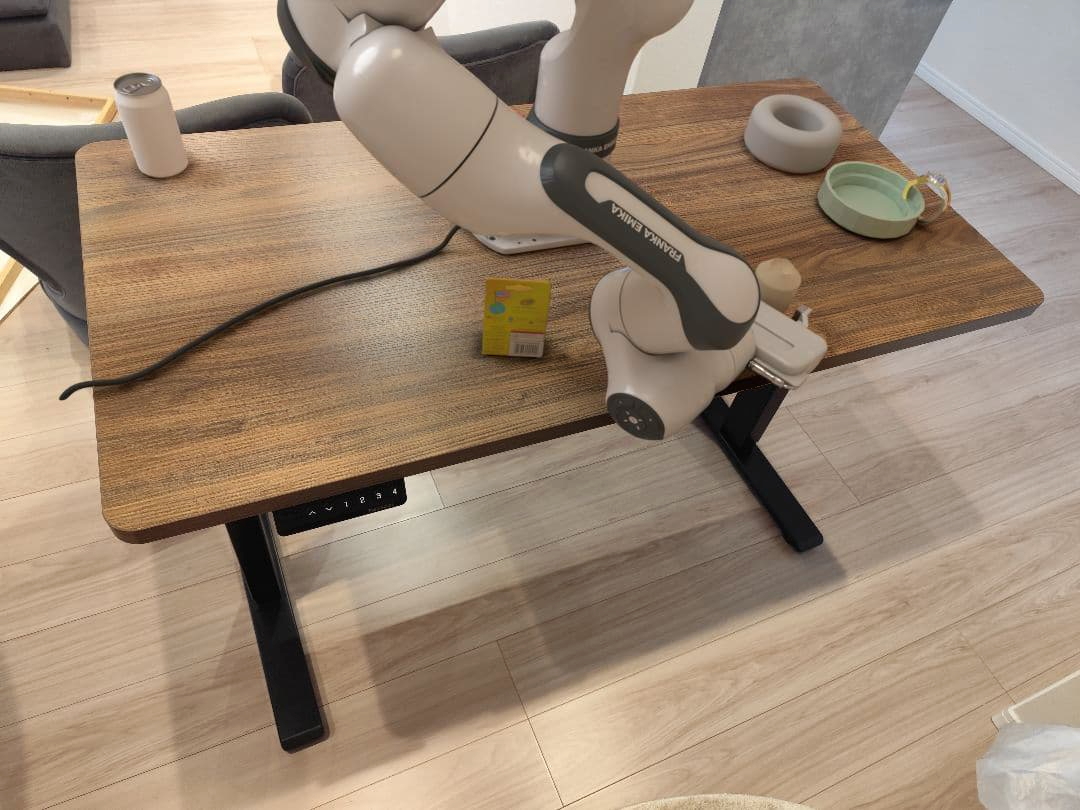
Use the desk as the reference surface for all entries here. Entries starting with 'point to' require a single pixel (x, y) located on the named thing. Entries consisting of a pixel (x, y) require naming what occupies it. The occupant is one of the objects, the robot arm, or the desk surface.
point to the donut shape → (793, 133)
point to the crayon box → (515, 316)
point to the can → (150, 124)
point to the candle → (778, 283)
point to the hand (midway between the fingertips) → (772, 290)
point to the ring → (939, 183)
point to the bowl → (869, 200)
